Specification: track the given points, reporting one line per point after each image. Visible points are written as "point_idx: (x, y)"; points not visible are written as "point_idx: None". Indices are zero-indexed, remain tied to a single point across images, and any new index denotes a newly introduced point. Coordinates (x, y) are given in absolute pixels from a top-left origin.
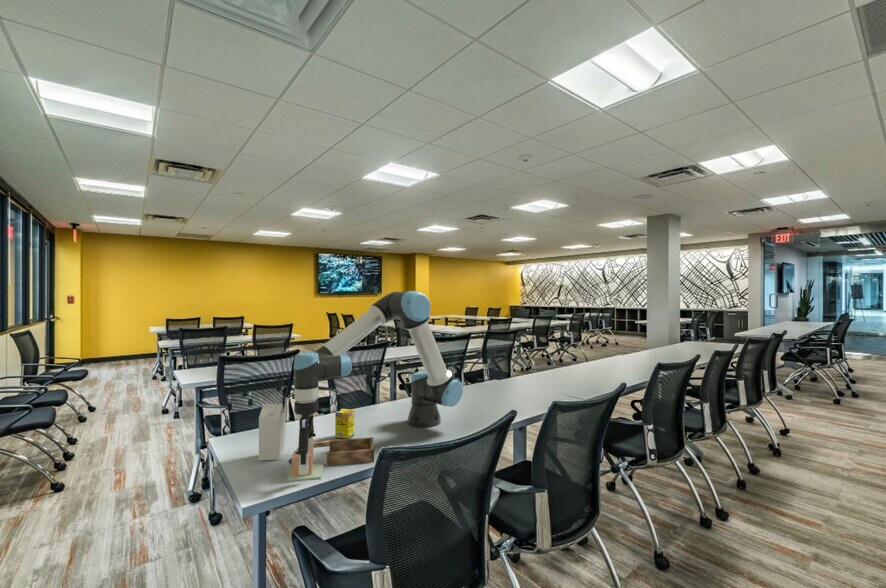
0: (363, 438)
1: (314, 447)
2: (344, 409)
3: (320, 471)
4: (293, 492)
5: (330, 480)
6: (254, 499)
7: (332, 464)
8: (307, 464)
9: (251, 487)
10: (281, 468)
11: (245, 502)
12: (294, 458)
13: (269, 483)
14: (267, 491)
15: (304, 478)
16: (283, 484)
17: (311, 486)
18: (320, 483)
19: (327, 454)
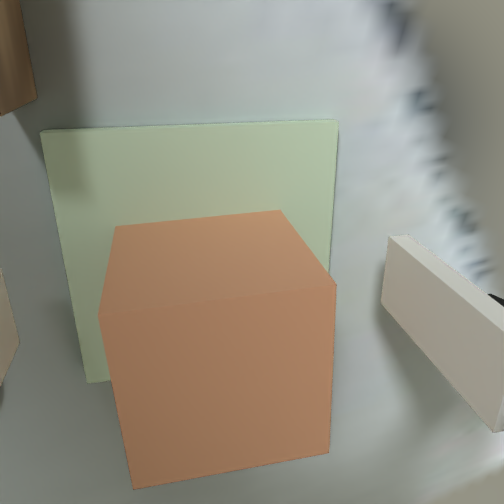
0: None
1: None
2: None
3: (229, 141)
4: (484, 272)
5: (391, 25)
6: (480, 435)
7: (25, 33)
8: (455, 276)
9: (339, 495)
10: (85, 444)
11: (493, 458)
12: (327, 426)
13: None
14: (415, 410)
15: (327, 249)
16: (352, 358)
17: (444, 173)
18: (419, 110)
19: (3, 105)
